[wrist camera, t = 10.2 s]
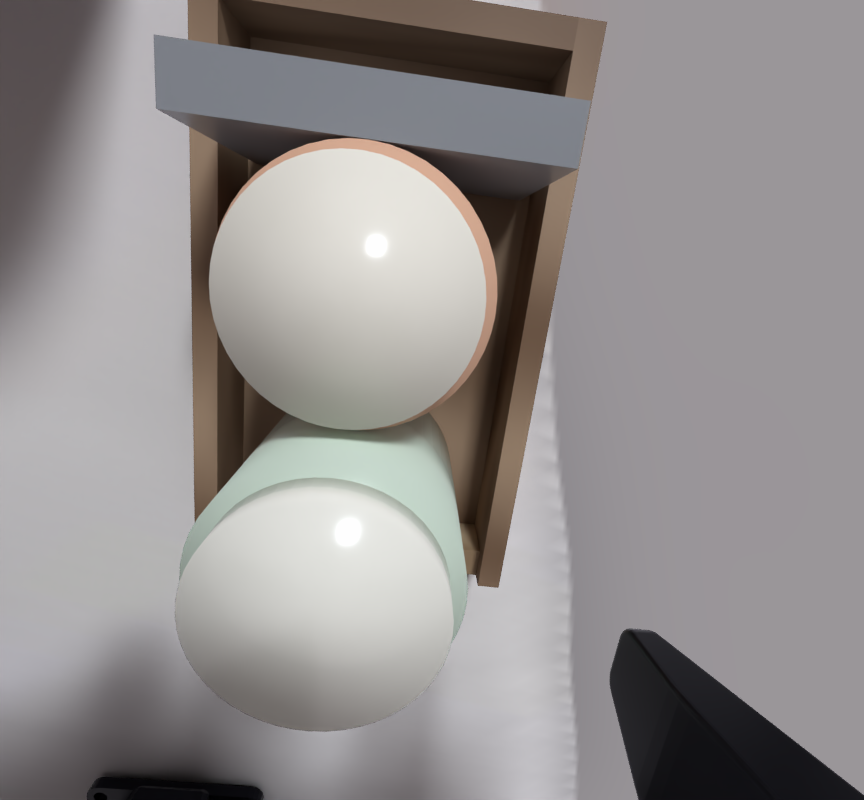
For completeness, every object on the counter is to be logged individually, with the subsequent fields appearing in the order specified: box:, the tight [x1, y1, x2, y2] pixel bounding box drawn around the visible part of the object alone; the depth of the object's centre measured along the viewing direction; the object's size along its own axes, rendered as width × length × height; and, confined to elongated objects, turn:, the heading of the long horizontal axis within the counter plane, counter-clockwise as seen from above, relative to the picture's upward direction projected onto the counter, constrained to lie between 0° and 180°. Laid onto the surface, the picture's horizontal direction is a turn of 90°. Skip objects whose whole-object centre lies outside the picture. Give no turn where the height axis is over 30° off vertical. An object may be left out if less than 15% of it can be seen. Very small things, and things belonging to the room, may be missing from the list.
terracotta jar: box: [209, 138, 497, 430], centre depth 11 cm, size 5×5×6 cm
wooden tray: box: [188, 0, 607, 587], centre depth 13 cm, size 14×9×2 cm, turn 173°
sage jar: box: [175, 412, 468, 731], centre depth 11 cm, size 5×5×6 cm
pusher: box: [154, 35, 591, 200], centre depth 10 cm, size 1×7×5 cm, turn 83°
